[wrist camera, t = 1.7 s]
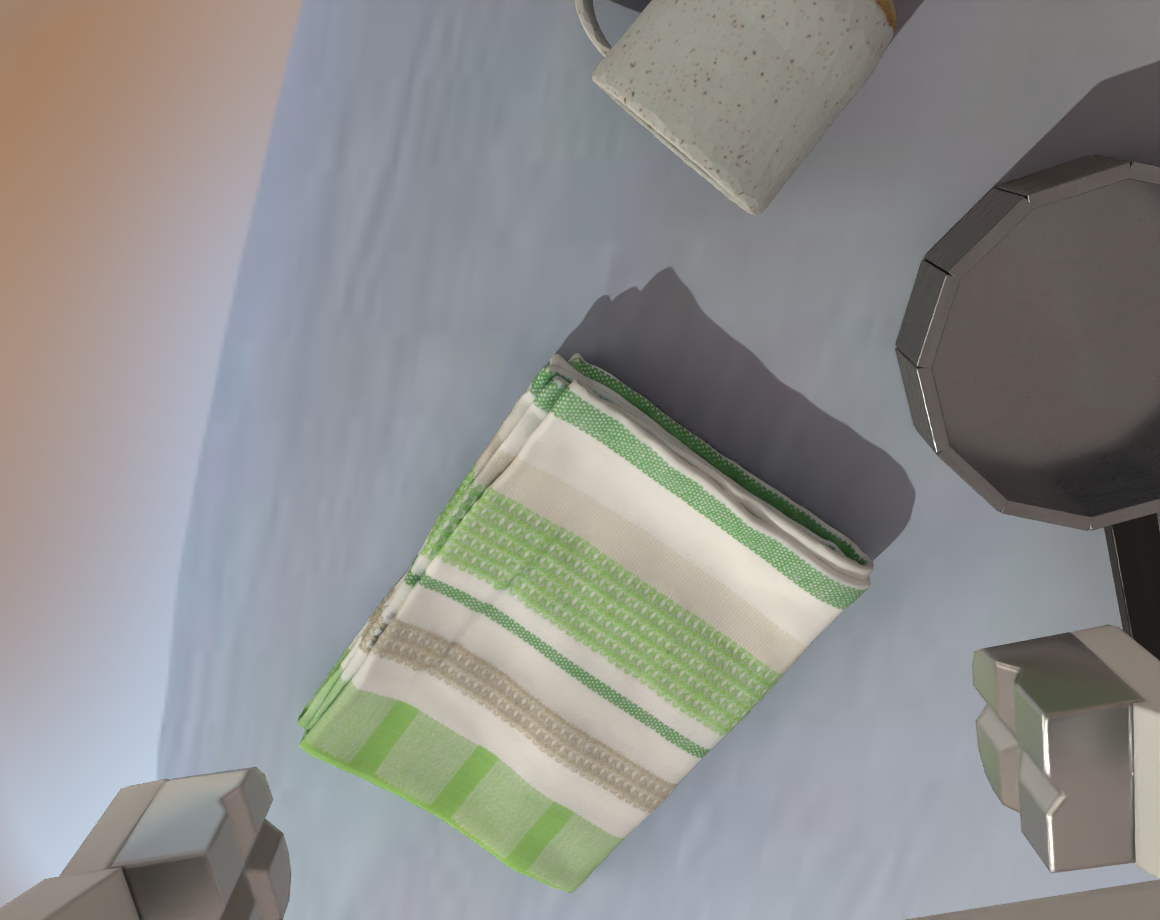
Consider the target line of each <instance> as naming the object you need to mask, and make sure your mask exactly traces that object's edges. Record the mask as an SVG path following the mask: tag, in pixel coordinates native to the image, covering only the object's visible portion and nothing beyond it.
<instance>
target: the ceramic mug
mask: <svg viewBox="0 0 1160 920" xmlns="http://www.w3.org/2000/svg"><path fill="white" fill-rule="evenodd" d="M575 5H576V11H577V13H578V16H579V18H580V21H581V24H582V26H583V28H584V30H585V32H586V34H587V35H588V37H589V38H590V40H591V41H592V43H593V44H594V45H595V47H596V48H597V49H598V51H599V52H600V53H601V54H602V55H603V56H604V58H603V60H602V61H601V62H600V63H599V65H598V66H597V67H596V68H595V70H594V72H593V74H592V80H593V81H594V82H595V83H596V84H597V85H598V86H599V87H600V88H601V89H602V90H603V91H604V92H605V93H607V94H608V95H609V96H610V97H611V98H612V99H613V100H614V101H615V102H616V103H617V104H619V105H620V106H621V107H622V108H623V109H624V110H626V111H627V112H628V113H629V114H630V115H631V116H632V117H633V118H634V119H635V120H636V121H637V122H639V123H640V124H641V125H643V126H644V127H646V128H647V129H648V130H649V131H650V132H651V133H652V134H654V135H655V136H656V137H657V138H658V139H659V140H660V141H661V142H662V143H663V144H664V145H666V146H667V147H668V148H669V149H670V150H672V151H673V152H674V153H675V154H676V155H678V156H679V157H680V158H681V159H682V160H683V161H684V162H685V163H686V164H688V165H689V166H691V167H692V168H693V169H694V170H695V171H696V172H697V173H699V174H700V175H701V176H703V177H704V178H705V179H706V180H707V181H709V182H710V183H711V184H712V185H713V186H714V187H716V188H717V189H718V190H719V191H721V192H722V193H723V194H724V195H725V196H727V197H728V198H729V199H730V200H731V201H733V202H735V203H736V204H737V205H738V206H740V207H741V208H742V209H744V210H746V212H748V213H750V214H752V215H759V214H760V213H762V212H763V211H764V210H765V209H766V208H767V206H768V205H769V204H770V202H771V201H772V200H773V199H774V197H775V196H776V194H777V193H778V192H779V190H780V189H781V188H782V186H783V185H784V184H785V182H786V181H787V180H788V179H789V178H790V176H791V175H792V174H793V173H794V171H795V170H796V169H797V168H798V166H799V165H800V164H801V163H802V161H803V160H804V159H805V158H806V157H807V155H808V154H809V153H810V152H811V150H812V149H813V148H814V146H815V145H816V144H817V143H818V141H819V140H820V139H821V137H822V136H823V135H824V133H825V132H826V131H827V129H828V128H829V127H830V125H831V124H832V123H833V121H834V120H835V118H836V117H837V116H838V114H839V113H840V112H841V111H842V110H843V108H844V107H845V106H846V105H847V104H848V102H849V101H850V100H851V99H852V97H853V96H854V95H855V94H856V93H857V91H858V90H859V89H860V88H861V87H862V85H863V84H864V83H865V82H866V80H867V79H868V78H869V76H870V75H871V74H872V72H873V71H874V69H875V67H876V66H877V64H878V62H879V61H880V59H881V57H882V55H883V54H884V52H885V50H886V49H887V47H888V45H889V43H890V41H891V39H892V37H893V35H894V33H895V29H896V10H895V7H894V3H893V0H652V1H651V2H650V3H649V4H648V5H647V7H646V8H645V9H644V10H643V11H642V12H641V14H640V15H639V16H638V17H637V19H636V20H635V21H634V22H633V23H632V25H631V26H630V27H629V28H628V29H627V31H626V32H625V33H624V34H623V35H622V37H621V38H620V39H619V40H618V42H617V43H616V44H615V45H614V46H613V47H611V46H610V44H609V43H608V41H607V40H606V38H605V37H604V35H603V33H602V31H601V29H600V27H599V25H598V22H597V20H596V17H595V12H594V7H593V0H575Z"/></svg>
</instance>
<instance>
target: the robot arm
mask: <svg viewBox="0 0 1160 920" xmlns="http://www.w3.org/2000/svg"><path fill="white" fill-rule="evenodd" d="M972 669H973V686H974V687H975V688H976V690H977V691H978V692H979V694H980V695H981V696H982V697H983V699H984V700H985V701H986V703H987V704H986V706H985V707H984V709H983V711H982V712H981V714H980V715H979V717H978V719H977V720H976V729H977V739H978V748H979V752H980V756H981V760H982V763H983V767H984V771H985V774H986V776H987V778H988V780H989V782H990V785H991V787H992V789H993V791H994V792H995V794H996V795H997V797H998V798H999V800H1000V801H1001V803H1002V804H1003V805H1004V806H1006V807H1009V808H1011V809H1013V810H1015V811H1017V812H1019V813H1020V816H1021V832H1022V833H1023V834H1024V836H1025V837H1026V839H1027V840H1028V841H1029V843H1030V844H1031V846H1032V847H1033V848H1034V850H1035V851H1036V853H1037V854H1038V855H1039V857H1040V858H1041V860H1042V861H1043V863H1044V864H1045V865H1046V867H1047V868H1048V870H1049V871H1050V872H1051V873H1057V872H1065V871H1072V870H1080V869H1088V868H1096V867H1103V866H1111V865H1119V864H1127V863H1134V862H1136V866H1137V867H1138V868H1140V869H1142V870H1144V871H1145V872H1147V873H1149V874H1151V875H1152V876H1154V877H1156V878H1158V879H1159V880H1153V881H1147V882H1141V883H1134V884H1128V885H1122V886H1115V887H1109V888H1103V889H1096V890H1090V891H1083V892H1077V893H1071V894H1064V895H1058V896H1052V897H1045V898H1039V899H1033V900H1026V901H1020V902H1013V903H1007V904H1001V905H994V906H988V907H982V908H975V909H969V910H963V911H956V912H950V913H943V914H937V915H931V916H924V917H918V918H912V919H905V920H1160V661H1159V660H1158V659H1157V658H1156V657H1155V656H1153V655H1152V654H1151V653H1150V652H1148V651H1147V650H1146V649H1145V648H1143V647H1142V646H1141V645H1140V644H1139V643H1137V642H1136V641H1135V640H1134V639H1132V638H1131V637H1130V636H1129V635H1127V634H1126V633H1125V632H1124V631H1123V630H1121V629H1120V628H1119V627H1116V626H1111V625H1104V626H1099V627H1094V628H1090V629H1085V630H1080V631H1075V632H1070V633H1069V632H1068V633H1063V634H1058V635H1052V636H1047V637H1042V638H1036V639H1031V640H1026V641H1021V642H1015V643H1010V644H1005V645H999V646H994V647H989V648H984V649H980V650H977V651H974V658H973V664H972ZM272 801H273V798H272V795H271V792H270V789H269V786H268V783H267V780H266V777H265V774H263V773H262V772H261V771H260V770H259V769H258V768H257V767H251V768H244V769H238V770H231V771H224V772H217V773H210V774H203V775H196V776H189V777H182V778H175V779H172V780H169V779H164V780H158V781H153V782H148V783H143V784H137V785H132V786H129V787H126V788H123V789H121V790H120V791H119V792H118V794H117V795H116V797H115V798H114V799H113V801H112V802H111V804H110V805H109V807H108V808H107V809H106V811H105V812H104V814H103V815H102V817H101V818H100V819H99V821H98V822H97V824H96V825H95V826H94V828H93V829H92V831H91V832H90V834H89V835H88V836H87V838H86V839H85V840H84V842H83V843H82V845H81V846H80V848H79V849H78V850H77V852H76V854H75V855H74V856H73V857H72V859H71V860H70V862H69V863H68V865H67V866H66V867H65V869H64V870H63V872H62V873H61V874H60V876H59V877H55V878H49V879H44V880H43V881H41V882H40V883H38V884H37V885H35V886H34V887H32V888H31V889H29V890H27V891H26V892H24V893H23V894H21V895H20V896H18V897H17V898H15V899H14V900H12V901H10V902H9V903H7V904H6V905H4V906H3V907H1V908H0V920H283V917H284V914H285V911H286V908H287V905H288V902H289V897H290V884H291V868H290V860H289V852H288V849H287V845H286V841H285V838H284V834H283V833H282V832H281V831H280V830H279V829H277V828H276V827H275V826H274V825H272V824H271V823H270V822H269V821H267V820H266V819H265V817H266V815H267V813H268V810H269V808H270V806H271V803H272Z"/></svg>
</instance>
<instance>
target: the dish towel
mask: <svg viewBox="0 0 1160 920" xmlns="http://www.w3.org/2000/svg"><path fill="white" fill-rule="evenodd" d="M873 566H874V565H873V562H872V560H871V559H870V558H869V557H868V556H867V555H866V554H865V553H864V552H862V551H861V550H860V549H859V548H858V546H857V545H856V544H855V543H854V542H853V541H852V540H851V539H849V538H848V537H846V536H845V535H843V534H842V533H840V532H839V531H837V530H835V529H834V528H832V527H831V526H829V525H828V524H826V523H825V522H823V521H822V520H821V519H819V518H818V517H817V516H815V515H814V514H813V513H812V512H810V511H809V510H808V509H806V508H804V507H802V506H801V505H799V504H797V503H796V502H794V501H792V500H791V499H789V498H788V497H787V496H786V495H784V494H783V493H781V492H780V491H778V490H776V489H774V488H773V487H771V486H770V485H768V484H766V483H765V482H763V481H762V480H760V479H759V478H757V477H756V476H754V475H752V474H751V473H749V472H748V471H746V470H745V469H744V468H742V467H741V466H740V465H738V464H737V463H735V462H734V461H732V460H730V459H728V458H726V457H725V456H723V455H722V454H720V453H719V452H717V451H716V450H715V449H713V448H712V447H711V446H709V445H708V444H707V443H706V442H704V441H703V440H701V439H700V438H698V437H697V436H695V435H694V434H692V433H691V432H689V431H688V430H687V429H685V428H684V427H682V426H681V425H680V424H678V423H677V422H675V421H674V420H672V419H671V418H670V417H668V416H667V415H665V414H664V413H663V412H662V411H660V410H659V409H658V408H657V407H656V406H655V405H653V404H652V403H651V402H650V401H649V400H648V399H646V398H645V397H643V396H642V395H640V394H639V393H637V392H636V391H634V390H632V389H631V388H629V387H628V386H626V385H625V384H623V383H622V382H621V381H620V380H618V379H617V378H616V377H614V376H613V375H611V374H609V373H608V372H606V371H605V370H603V369H601V368H599V367H596V366H594V365H592V364H589V363H587V362H586V361H585V360H584V359H583V358H582V356H581V355H580V354H578V353H576V354H573V356H572V357H571V359H570V360H569V361H568V362H567V361H566V360H565V359H563V358H562V357H561V356H560V355H559V354H554V355H553V357H552V358H551V360H550V363H549V364H548V365H547V366H545V367H543V368H542V370H541V372H540V374H538V375H537V376H536V378H535V379H534V380H533V381H532V383H531V384H530V386H529V388H528V389H527V390H526V391H525V393H524V394H523V395H522V397H521V398H520V399H519V401H518V402H517V403H516V404H515V406H514V408H513V410H512V412H511V413H510V414H509V416H508V417H507V418H506V420H505V421H504V423H503V424H502V426H501V428H500V429H499V431H498V432H497V434H496V435H495V436H494V438H493V439H492V441H491V443H490V444H489V445H488V447H487V448H486V449H485V451H484V452H483V453H482V455H481V456H480V457H479V459H478V461H477V462H476V464H475V465H474V467H473V469H472V470H471V471H470V472H469V474H468V475H467V476H466V477H465V479H464V481H463V483H462V484H461V485H460V486H459V488H458V489H457V490H456V492H455V494H454V496H453V497H452V499H451V500H450V501H449V502H448V503H447V505H446V506H445V509H444V511H443V512H442V513H441V514H440V515H439V516H438V518H437V520H436V523H435V525H434V526H433V528H432V529H431V531H430V533H429V534H428V536H427V538H426V540H425V543H424V545H423V547H422V548H421V550H420V551H419V552H418V554H417V556H416V558H415V559H414V561H413V563H412V565H411V566H410V568H409V569H408V571H407V572H406V574H405V575H404V576H403V577H402V578H401V579H400V581H399V582H398V583H397V584H396V585H395V587H394V588H393V589H392V590H391V591H390V592H389V593H388V595H387V596H386V598H385V599H384V600H383V601H382V602H381V603H380V605H379V606H378V607H377V609H376V610H375V612H374V613H373V614H372V615H371V616H370V617H369V619H368V620H367V622H366V624H365V625H364V627H363V628H362V629H361V630H360V632H359V633H358V635H357V636H356V638H355V639H354V641H353V642H352V643H351V644H350V646H349V647H348V648H347V649H346V651H345V652H344V653H343V655H342V656H341V658H340V659H339V661H338V662H337V663H336V665H335V666H334V667H333V669H332V670H331V671H330V672H329V674H328V676H327V677H326V679H325V680H324V682H323V684H322V685H321V686H320V687H319V689H318V690H317V691H316V693H315V696H314V698H313V699H312V700H311V701H310V702H309V703H308V704H307V705H306V707H305V708H304V710H303V712H302V714H301V715H300V716H299V719H298V724H299V725H300V726H302V727H303V728H305V732H304V735H303V739H302V740H301V742H300V743H299V746H300V747H301V748H302V749H303V750H305V751H306V752H307V753H309V754H310V755H311V756H313V757H315V758H318V759H320V760H323V761H325V762H327V763H329V764H331V765H334V766H336V767H338V768H340V769H342V770H344V771H347V772H349V773H352V774H354V775H356V776H359V777H361V778H363V779H365V780H367V781H369V782H371V783H373V784H375V785H377V786H379V787H381V788H383V789H386V790H388V791H390V792H392V793H394V794H396V795H398V796H400V797H402V798H404V799H405V800H407V801H409V802H411V803H412V804H414V805H416V806H418V807H420V808H422V809H424V810H426V811H428V812H430V813H432V814H433V815H435V816H437V817H438V818H440V819H442V820H443V821H445V822H446V823H448V824H449V825H450V826H452V827H454V828H455V829H457V830H458V831H460V832H461V833H463V834H464V835H466V836H467V837H468V838H470V839H472V840H473V841H475V842H476V843H477V844H479V845H480V846H481V847H483V848H484V849H485V850H487V851H488V852H490V853H491V854H492V855H494V856H495V857H496V858H498V859H499V860H500V861H501V862H503V863H504V864H505V865H507V866H508V867H510V868H512V869H513V870H515V871H517V872H519V873H522V874H525V875H527V876H530V877H532V878H534V879H536V880H538V881H540V882H543V883H545V884H547V885H549V886H552V887H554V888H557V889H561V890H565V891H566V892H569V893H570V892H573V891H575V890H576V889H577V888H578V887H579V886H580V885H581V884H582V883H583V882H584V881H585V880H586V879H587V878H588V876H589V875H590V874H591V873H592V872H593V870H594V869H595V868H596V867H597V866H598V865H599V864H600V863H601V862H602V861H603V860H604V859H605V858H606V857H607V856H608V855H609V854H610V853H611V851H612V850H613V849H614V848H615V847H616V846H617V845H619V844H620V843H621V842H622V841H623V840H624V839H625V838H626V837H627V836H628V835H629V833H630V832H631V831H632V830H633V829H634V828H636V827H637V826H638V825H639V824H640V823H641V822H642V821H643V820H644V819H645V818H646V817H647V816H649V815H650V814H651V813H652V812H653V811H654V810H655V809H656V808H657V807H658V806H659V805H660V804H661V803H662V802H663V801H664V800H665V799H666V798H667V796H668V795H669V794H670V792H671V791H672V790H673V789H674V788H675V787H676V786H677V785H678V783H679V782H680V781H681V779H682V778H683V777H684V776H685V775H686V774H687V773H688V772H689V771H690V770H691V769H692V768H693V767H694V766H695V765H696V764H697V763H698V762H699V761H700V760H701V759H702V758H703V757H704V756H705V755H706V754H707V753H708V751H709V750H710V749H712V748H713V747H714V746H715V745H716V744H717V743H718V742H719V741H720V740H721V739H722V738H723V737H724V736H725V735H726V734H727V733H728V732H729V731H730V730H732V729H733V728H734V727H735V726H736V725H737V724H738V723H739V722H740V721H741V720H742V719H743V718H744V717H745V716H746V715H747V714H748V713H749V712H750V710H751V709H752V708H753V707H754V706H755V705H756V704H757V703H758V702H760V701H761V699H762V698H763V697H764V695H765V694H766V693H768V692H769V691H770V690H771V688H772V687H773V685H774V684H775V683H776V682H777V681H778V680H779V679H781V677H782V676H783V674H784V673H785V671H786V670H787V669H788V668H789V667H790V666H791V665H792V664H793V663H794V662H795V661H796V660H797V658H798V657H799V656H800V655H801V654H802V653H803V652H804V650H805V649H806V648H807V647H808V646H809V645H810V644H811V642H812V641H813V640H814V639H815V638H816V637H817V636H818V635H819V634H820V633H821V632H822V631H823V630H824V629H825V628H826V627H827V626H829V625H830V624H831V623H832V622H833V620H834V619H835V618H836V617H837V616H838V615H839V614H840V613H841V612H842V611H843V610H844V609H846V608H847V607H848V606H849V605H850V604H852V603H853V602H854V601H855V600H856V599H857V598H858V597H859V596H860V595H861V594H862V593H863V592H864V591H865V590H867V589H868V587H869V585H870V578H869V575H870V573H871V572H872V570H873Z"/></svg>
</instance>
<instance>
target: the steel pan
mask: <svg viewBox="0 0 1160 920" xmlns="http://www.w3.org/2000/svg"><path fill="white" fill-rule="evenodd" d="M924 258H925V259H926V260H922V262H921V265H920V268H919V271H918V274H917V278H916V281H915V284H914V287H913V290H912V294H911V297H910V300H909V303H908V306H907V309H906V313H905V316H904V319H903V322H902V325H901V329H900V332H899V335H898V338H897V341H896V346H897V348H896V349H895V350H896V354H897V358H898V363H899V367H900V371H901V375H902V379H903V383H904V387H905V391H906V395H907V399H908V404H909V408H910V412H911V416H912V420H913V424H914V426H915V427H916V430H917V431H918V432H919V434H920V435H921V436H922V437H923V439H924V440H925V441H926V442H927V443H928V445H929V446H930V447H931V448H932V450H933V451H934V452H935V453H936V454H937V456H938V457H939V458H940V459H942V460H943V461H944V462H945V463H946V464H947V465H948V466H949V467H950V468H951V469H952V470H954V471H955V472H956V473H957V474H958V475H959V476H960V477H961V478H962V479H963V480H964V481H965V482H967V483H968V484H969V485H970V486H971V487H972V488H973V489H974V490H975V491H976V492H977V493H979V494H980V495H981V496H982V497H983V498H984V499H985V500H986V501H987V502H988V503H989V504H990V505H992V506H993V507H994V508H995V509H996V510H997V511H1000V512H1001V513H1003V514H1008V515H1013V516H1018V517H1023V518H1027V519H1032V520H1037V521H1042V522H1047V523H1052V524H1057V525H1062V526H1067V527H1072V528H1077V529H1082V530H1087V531H1088V530H1089V529H1090V530H1095V529H1099V528H1102V527H1104V530H1105V535H1106V540H1107V546H1108V551H1109V557H1110V562H1111V567H1112V573H1113V578H1114V583H1115V589H1116V594H1117V600H1118V605H1119V610H1120V616H1121V621H1122V627H1123V631H1124V632H1125V633H1126V634H1127V635H1129V636H1130V637H1131V638H1132V639H1134V640H1135V641H1136V642H1137V643H1139V644H1140V645H1141V646H1142V647H1143V648H1145V649H1146V650H1147V651H1148V652H1150V653H1151V654H1152V655H1153V656H1155V657H1156V658H1157V659H1158V660H1159V661H1160V532H1159V526H1158V520H1157V514H1156V513H1158V512H1160V166H1155V165H1150V164H1145V163H1141V162H1136V161H1130V160H1123V159H1116V158H1110V157H1103V156H1097V155H1094V156H1086V157H1083V158H1080V159H1077V160H1074V161H1071V162H1068V163H1065V164H1062V165H1059V166H1056V167H1053V168H1050V169H1047V170H1044V171H1041V172H1037V173H1034V174H1031V175H1028V176H1025V177H1022V178H1019V179H1016V180H1013V181H1010V182H1007V183H1004V184H1001V185H998V186H996V189H994V188H993V189H991V190H990V191H989V192H988V193H987V194H986V195H985V196H984V197H983V198H982V199H981V200H980V201H979V202H978V203H977V204H976V205H975V206H974V207H973V208H972V209H971V210H970V211H969V212H968V213H967V214H966V215H965V216H964V217H963V218H962V219H961V220H960V221H959V222H958V223H957V224H956V225H955V226H954V227H953V228H952V229H951V230H950V231H949V232H948V233H947V234H946V235H945V236H944V237H943V238H942V239H941V240H940V241H939V242H938V243H937V244H936V245H935V246H934V247H933V248H932V249H931V250H930V251H929V252H928V253H927V254H926V255H925V257H924Z"/></svg>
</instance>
